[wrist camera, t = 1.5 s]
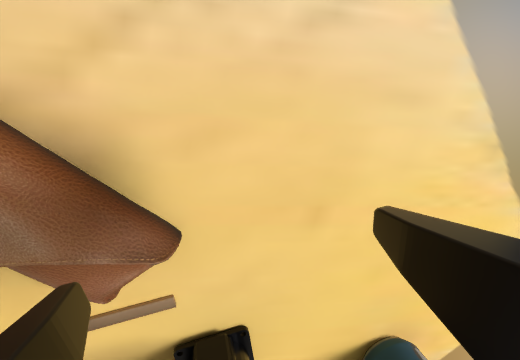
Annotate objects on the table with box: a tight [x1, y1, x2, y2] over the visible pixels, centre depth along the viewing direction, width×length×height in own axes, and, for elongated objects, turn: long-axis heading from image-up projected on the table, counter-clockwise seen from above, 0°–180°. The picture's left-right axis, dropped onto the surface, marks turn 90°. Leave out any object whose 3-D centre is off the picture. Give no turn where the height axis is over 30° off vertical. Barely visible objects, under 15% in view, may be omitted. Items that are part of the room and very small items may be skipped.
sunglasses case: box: [0, 120, 182, 304], centre depth 15 cm, size 18×7×7 cm
